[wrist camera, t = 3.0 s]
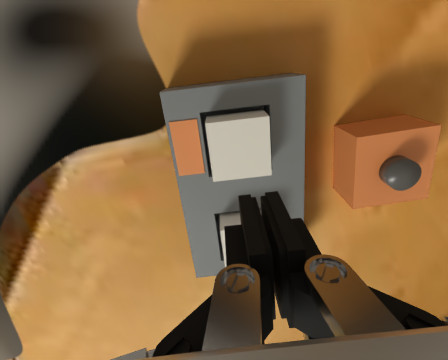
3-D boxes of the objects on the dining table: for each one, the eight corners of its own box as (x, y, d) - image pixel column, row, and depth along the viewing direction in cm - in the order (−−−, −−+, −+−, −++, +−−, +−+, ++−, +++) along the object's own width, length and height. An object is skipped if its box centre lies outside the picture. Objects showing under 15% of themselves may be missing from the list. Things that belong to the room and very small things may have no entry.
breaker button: (267, 208, 27) (273, 224, 25) (269, 247, 29) (275, 266, 27) (219, 213, 27) (220, 230, 25) (224, 252, 29) (225, 272, 27)
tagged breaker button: (262, 109, 23) (269, 116, 21) (265, 163, 25) (271, 175, 23) (206, 116, 23) (205, 123, 21) (213, 169, 25) (213, 181, 23)
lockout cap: (403, 114, 27) (455, 128, 21) (395, 177, 30) (439, 206, 24) (333, 125, 28) (365, 142, 22) (332, 187, 31) (360, 217, 25)
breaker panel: (292, 72, 25) (306, 74, 21) (293, 243, 33) (303, 266, 30) (167, 87, 25) (159, 92, 22) (198, 254, 34) (196, 278, 30)
